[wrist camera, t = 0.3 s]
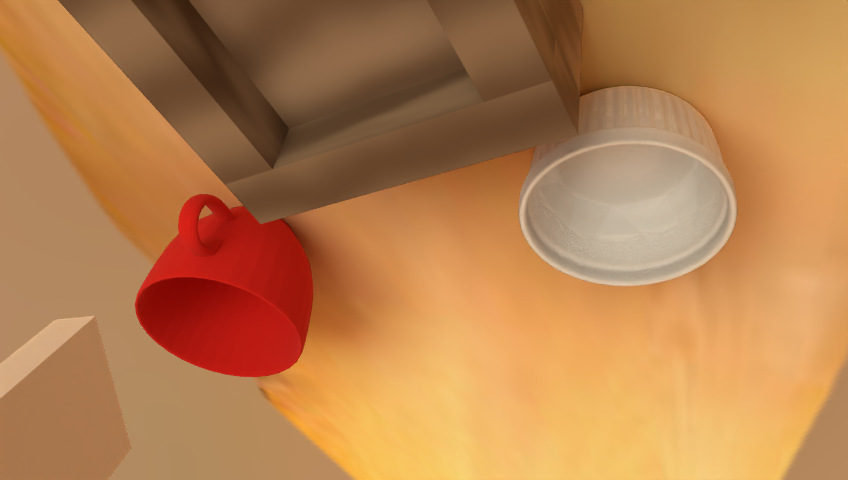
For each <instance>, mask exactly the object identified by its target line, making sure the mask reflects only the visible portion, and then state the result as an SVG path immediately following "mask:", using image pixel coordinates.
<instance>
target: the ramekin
mask: <svg viewBox="0 0 848 480" xmlns="http://www.w3.org/2000/svg"><path fill="white" fill-rule="evenodd" d="M736 218H737V198H736V190H735V185H734V182H733V179H732V177H731V175H730V173H729V171H728V169H727V168H726V166H725V164H724V161H723V157H722V154H721V151H720V149H719V146H718V143H717V141H716V138H715V136H714V134H713V131H712V129H711V127H710V125H709V124H708V123H707V122H706V120H705V118H704V117H703V116H702V115H701V114H700V113H699V112H698V111H697V110H696V109H695V108H694V107H693V106H691V105H690V104H689V103H688V102H686V101H684V100H682V99H681V98H679V97H678V96H675V95H673V94H670V93H668V92H665V91H661V90H659V89H655V88H649V87H641V86H617V87H610V88H605V89H601V90H597V91H594V92H591V93H589V94H586V95H583V96H581V97H580V100H579V125H578V135H575V136H572V137H568V138H565V139H561V140H558V141H554V142H551V143H547V144H543V145H540V146H536V147H535V151H534V155H533V158H532V162H531V166H530V169H529V173H528V175H527V176H526V178H525V180H524V183H523V185H522V188H521V192H520V198H519V222H520V226H521V230H522V232H523V235H524V237H525V239H526V241H527V242H528V243H529V245H530V246H531V248H532V249H533V250H534V251H535V252H536V254H538V255H539V256H540V257H541V258H542V259H543V260H544V261H545V262H547V263H548V264H549V265H551V266H552V267H554V268H556V269H557V270H559V271H561V272H563V273H565V274H567V275H570V276H572V277H574V278H577V279H580V280H584V281H587V282H592V283H597V284H602V285H610V286H640V285H649V284H655V283H660V282H664V281H668V280H671V279H674V278H677V277H680V276H682V275H685V274H687V273H689V272H691V271H693V270H695V269H697V268H698V267H700V266H702V265H703V264H705V263H706V262H708V261H709V260H710V259H711V258H713V257H714V256H715V255H716V254H717V253H718V252H719V251H720V250H721V249H722V248H723V246H724V245H725V244H726V242H727V241H728V239H729V237H730V236H731V234H732V232H733V229H734V227H735V223H736Z"/></svg>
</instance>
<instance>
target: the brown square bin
mask: <svg viewBox="0 0 848 480" xmlns="http://www.w3.org/2000/svg"><path fill="white" fill-rule="evenodd" d="M58 1H59V2H60V3H61V4H62V5H63V6H64V7H65V8H66V10H67V11H68V12H69V13H70V14H71V15H72V16H73V17H74V18H75V20H76V21H77V22H78V23H79V24H80V25H81V26H82V27H83V28H84V29H85V31H86V32H87V33H88V34H89V35H90V36H91V37H92V38H93V39H94V41H95V42H96V43H97V44H98V45H99V46H100V47H101V48H102V49H103V50H104V52H105V53H106V54H107V55H108V56H109V57H110V58H111V59H112V60H113V62H114V63H115V64H116V65H117V66H118V67H119V68H120V69H121V70H122V71H123V73H124V74H125V75H126V76H127V77H128V78H129V79H130V80H131V81H132V83H133V84H134V85H135V86H136V87H137V88H138V89H139V90H140V91H141V92H142V94H143V95H144V96H145V97H146V98H147V99H148V100H149V101H150V102H151V103H152V105H153V106H154V107H155V108H156V109H157V110H158V111H159V112H160V113H161V115H162V116H163V117H164V118H165V119H166V120H167V121H168V122H169V123H170V124H171V126H172V127H173V128H174V129H175V130H176V131H177V132H178V133H179V134H180V136H181V137H182V138H183V139H184V140H185V141H186V142H187V143H188V144H189V145H190V147H191V148H192V149H193V150H194V151H195V152H196V153H197V154H198V155H199V157H200V158H201V159H202V160H203V161H204V162H205V163H206V164H207V165H208V166H209V168H210V169H211V170H212V171H213V172H214V173H215V174H216V175H217V176H218V178H219V179H220V180H221V181H222V182H223V183H224V184H225V185H226V186H227V187H228V189H229V190H230V191H231V192H232V193H233V194H234V195H235V196H236V197H237V198H238V200H239V201H240V202H241V203H242V204H243V205H244V206H245V207H246V208H247V210H248V211H249V212H250V213H251V214H252V215H253V216H254V217H255V218H256V219H257V221H258V222H259V223H260V224H263V223H267V222H270V221H274V220H277V219H281V218H284V217H288V216H291V215H295V214H299V213H302V212H306V211H309V210H313V209H316V208H320V207H323V206H327V205H330V204H334V203H338V202H341V201H345V200H348V199H352V198H355V197H359V196H362V195H366V194H370V193H373V192H377V191H380V190H384V189H387V188H391V187H394V186H398V185H401V184H405V183H409V182H412V181H416V180H419V179H423V178H426V177H430V176H433V175H437V174H441V173H444V172H448V171H451V170H455V169H458V168H462V167H465V166H469V165H472V164H476V163H480V162H483V161H487V160H490V159H494V158H497V157H501V156H504V155H508V154H512V153H515V152H519V151H522V150H526V149H529V148H533V147H536V146H540V145H543V144H547V143H551V142H554V141H558V140H561V139H565V138H568V137H572V136H575V135H578V125H579V100H580V75H581V50H582V24H583V8H582V6H581V3H580V1H579V0H58Z"/></svg>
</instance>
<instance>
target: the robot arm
mask: <svg viewBox="0 0 848 480" xmlns="http://www.w3.org/2000/svg"><path fill="white" fill-rule="evenodd" d="M130 450H131V445H130V442H129V438H128V434H127V431H126V427H125V423H124V419H123V416H122V412H121V408H120V405H119V401H118V397H117V394H116V390H115V386H114V382H113V379H112V375H111V371H110V368H109V364H108V360H107V357H106V353H105V349H104V346H103V342H102V339H101V335H100V331H99V327H98V324H97V320H96V317H95V316H89V317H79V318H68V319H58V320H54V321H53V322H52V323H51V324H49V325H48V326H47V327H46V328H44V329H43V330H42V331H41V332H39V333H38V334H37V335H36V336H34V337H33V338H32V339H31V340H29V341H28V342H27V343H26V344H24V345H23V346H22V347H21V348H19V349H18V350H17V351H16V352H14V353H13V354H12V355H11V356H9V357H8V358H7V359H6V360H4V361H3V362H2V363H0V480H108V479H109V478H110V476H111V475H112V474H113V472H114V471H115V470H116V468H117V467H118V466H119V464H120V463H121V461H122V460H123V459H124V458H125V456H126V455H127V454H128V452H129V451H130Z"/></svg>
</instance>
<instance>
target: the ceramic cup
mask: <svg viewBox="0 0 848 480" xmlns="http://www.w3.org/2000/svg"><path fill="white" fill-rule="evenodd" d="M205 205H206V206H207V207H208V208H209V209H210V210H211V211H212V212H213V214H211V215H209V216H206V217H204V218H201V219H199V215H200V212H201V210H202V208H203V207H204V206H205ZM198 219H199V220H198ZM178 229H179V234H178V235H177V236H176V237H175V238H174V239H173V241H172V242H171V243H170V244H169V245H168V246H167V248H166V249H165V250H164V252H163V253H162V255H161V256H160V257H159V259H158V260H157V262H156V263H155V265H154V266H153V268H152V269H151V271H150V273H149V274H148V276H147V277H146V279H145V281H144V282H143V284H142V286H141V288H140V290H139V292H138V294H137V298H136V302H135V308H136V315H137V317H138V320H139V322H140V324H141V326H142V327H143V328H144V330H145V331H146V332H147V334H148V335H149V336H150V337H151V338H152V339H153V340H154V341H156V342H157V343H158V344H159V345H161V346H162V347H163V348H165V349H166V350H167V351H168V352H170V353H172V354H174V355H175V356H177V357H179V358H180V359H182V360H184V361H187V362H189V363H191V364H193V365H196V366H198V367H201V368H204V369H207V370H210V371H214V372H218V373H222V374H226V375H233V376H240V377H260V376H269V375H273V374H277V373H280V372H282V371H284V370H286V369H289V368H290V367H291V366H292V365H294V364H295V363H296V362H297V360H298V359H299V357H300V355H301V354H302V351H303V348H304V345H305V341H306V337H307V332H308V327H309V322H310V316H311V310H312V303H313V281H312V274H311V268H310V264H309V261H308V258H307V256H306V254H305V252H304V249H303V247H302V246H301V244H300V242H299V241H298V239H297V238H296V237H295V235H294V233H293V231H292V229H291V228H290V227H289V225H288V224H286V223H285V222H284V221H283V220H282V219H277V220H274V221H270V222H267V223H263V224H260V223H259V222H258V221H257V219H256V218H255V217H254V216H253V215H252V214H251V213H250V212H249V211H248V210H247V208H246V207H235V208H232V209H229V208H228V207H227V206H226V205H225V204H224V203H223V202H222V201H221V200H220V199H219V198H217V197H215V196H213V195H208V194H199V195H196V196H193V197H191V198H190V199H189V200H188V201H186V203H185V204H184V206H183V207H182V210H181V212H180V216H179V223H178Z"/></svg>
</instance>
